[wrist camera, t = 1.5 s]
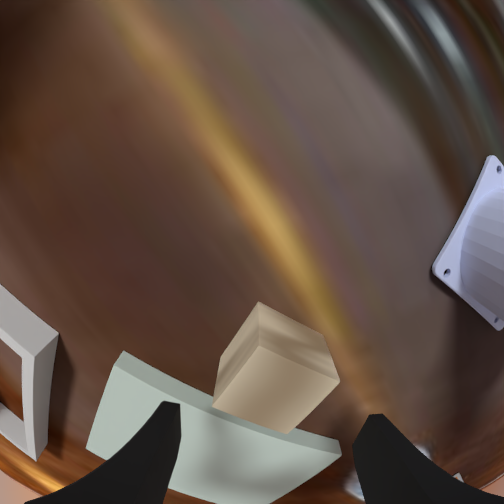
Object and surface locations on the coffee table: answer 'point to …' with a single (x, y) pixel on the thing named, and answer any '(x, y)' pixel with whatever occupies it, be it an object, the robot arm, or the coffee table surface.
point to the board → (207, 439)
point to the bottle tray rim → (28, 374)
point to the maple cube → (274, 371)
